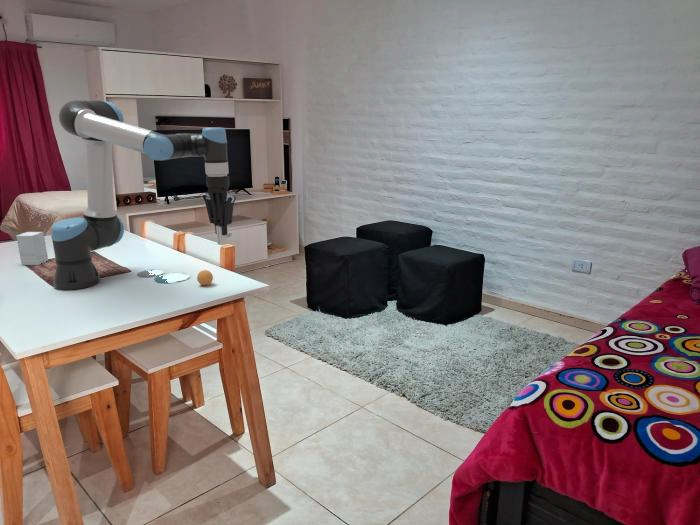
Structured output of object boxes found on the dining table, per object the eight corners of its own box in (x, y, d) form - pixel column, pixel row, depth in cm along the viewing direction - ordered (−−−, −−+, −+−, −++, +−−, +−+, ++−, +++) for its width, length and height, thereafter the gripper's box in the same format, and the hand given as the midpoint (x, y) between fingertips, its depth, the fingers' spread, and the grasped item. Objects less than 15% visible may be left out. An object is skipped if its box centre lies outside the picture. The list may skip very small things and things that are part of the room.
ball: (205, 288, 191) (204, 273, 189) (194, 285, 193) (193, 271, 192) (216, 284, 195) (215, 269, 194) (205, 281, 198) (204, 267, 196)
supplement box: (49, 260, 227) (44, 231, 224) (37, 265, 220) (32, 235, 217) (32, 260, 228) (27, 231, 224) (20, 265, 221) (15, 235, 217)
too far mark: (149, 278, 202) (149, 278, 202) (131, 275, 206) (131, 274, 206) (169, 272, 210) (169, 271, 210) (152, 268, 215) (152, 268, 215)
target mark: (171, 285, 194) (171, 284, 194) (146, 280, 200) (146, 279, 200) (197, 276, 205) (197, 275, 205) (173, 271, 211) (173, 270, 211)
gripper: (240, 175, 179) (244, 243, 185) (210, 173, 185) (215, 239, 192) (224, 177, 172) (229, 248, 179) (194, 175, 179) (200, 244, 185)
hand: (222, 243), depth 185 cm, fingers closed
